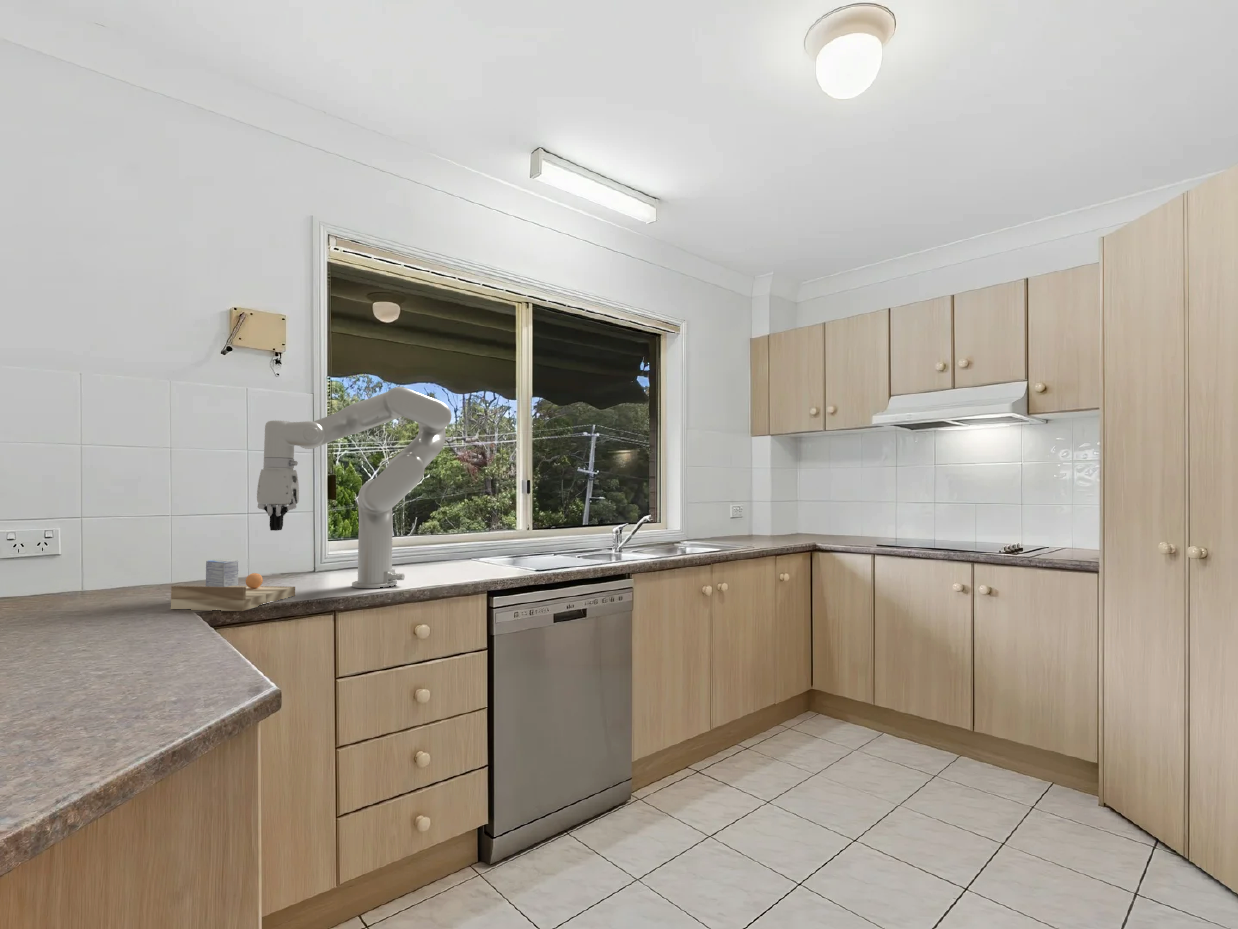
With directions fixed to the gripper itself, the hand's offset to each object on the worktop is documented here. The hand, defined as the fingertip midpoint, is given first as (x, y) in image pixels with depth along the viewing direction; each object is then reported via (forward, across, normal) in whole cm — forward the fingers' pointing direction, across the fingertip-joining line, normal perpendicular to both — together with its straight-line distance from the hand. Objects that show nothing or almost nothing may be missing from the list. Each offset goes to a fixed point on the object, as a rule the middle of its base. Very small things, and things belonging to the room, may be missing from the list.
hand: (276, 530), depth 186 cm
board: (+17, 0, +17) cm, 24 cm away
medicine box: (+18, +16, 0) cm, 24 cm away
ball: (+13, 0, +10) cm, 16 cm away
